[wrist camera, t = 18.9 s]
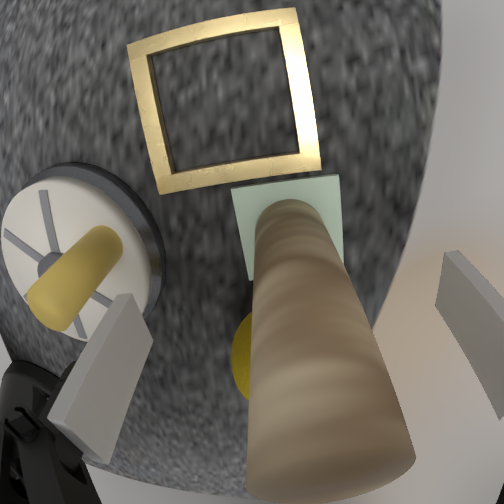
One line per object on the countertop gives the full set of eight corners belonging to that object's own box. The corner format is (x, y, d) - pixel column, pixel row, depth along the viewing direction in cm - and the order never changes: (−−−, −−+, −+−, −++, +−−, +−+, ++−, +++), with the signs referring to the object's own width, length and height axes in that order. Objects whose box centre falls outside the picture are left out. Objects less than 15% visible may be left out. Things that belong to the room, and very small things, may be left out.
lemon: (303, 345, 23) (312, 436, 16) (231, 334, 22) (218, 426, 15) (326, 287, 20) (349, 382, 13) (244, 272, 20) (231, 368, 13)
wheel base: (60, 323, 23) (54, 331, 22) (2, 188, 18) (-8, 194, 17) (188, 318, 22) (185, 329, 21) (134, 138, 16) (125, 141, 15)
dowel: (261, 266, 19) (260, 508, 6) (249, 204, 17) (226, 462, 5) (325, 257, 18) (396, 487, 6) (320, 194, 17) (437, 426, 4)
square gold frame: (163, 190, 17) (159, 195, 17) (132, 46, 13) (126, 45, 13) (319, 166, 16) (321, 169, 16) (294, 11, 12) (295, 7, 12)
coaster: (249, 277, 20) (249, 280, 20) (231, 187, 17) (230, 189, 17) (342, 265, 19) (343, 269, 19) (337, 173, 16) (338, 175, 16)
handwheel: (79, 343, 22) (40, 410, 16) (-6, 229, 18) (-68, 279, 11) (187, 300, 19) (155, 395, 13) (80, 137, 14) (-15, 173, 8)
